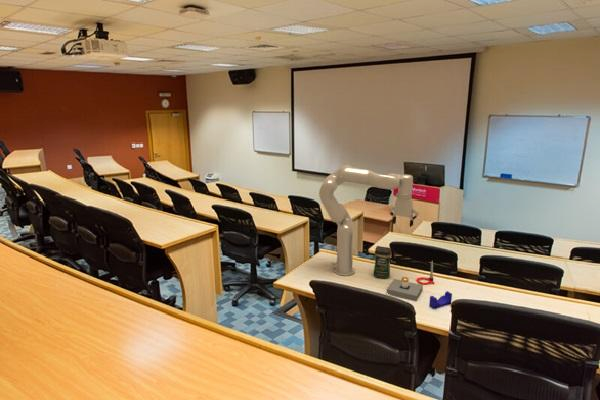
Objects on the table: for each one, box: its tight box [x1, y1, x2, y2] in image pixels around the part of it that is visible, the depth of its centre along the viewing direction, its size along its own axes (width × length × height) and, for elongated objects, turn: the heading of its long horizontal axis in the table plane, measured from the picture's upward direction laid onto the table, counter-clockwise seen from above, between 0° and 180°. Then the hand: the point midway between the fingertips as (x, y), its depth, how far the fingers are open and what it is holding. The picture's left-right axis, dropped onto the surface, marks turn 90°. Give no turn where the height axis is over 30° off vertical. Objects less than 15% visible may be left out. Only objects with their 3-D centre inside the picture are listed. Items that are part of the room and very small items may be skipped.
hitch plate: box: [386, 278, 424, 302], centre depth 204 cm, size 16×14×3 cm
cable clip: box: [428, 290, 453, 310], centre depth 190 cm, size 12×4×6 cm, turn 115°
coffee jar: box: [373, 245, 392, 280], centre depth 221 cm, size 10×8×19 cm
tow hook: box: [416, 260, 435, 286], centre depth 214 cm, size 8×13×9 cm
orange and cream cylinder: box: [401, 276, 410, 290], centre depth 203 cm, size 4×4×8 cm
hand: (402, 224), depth 216 cm, fingers open, 9 cm apart
